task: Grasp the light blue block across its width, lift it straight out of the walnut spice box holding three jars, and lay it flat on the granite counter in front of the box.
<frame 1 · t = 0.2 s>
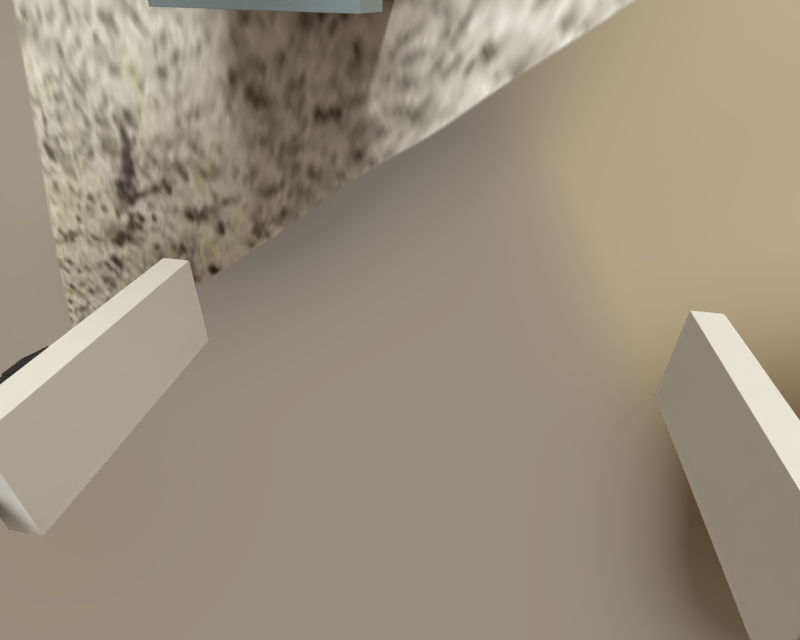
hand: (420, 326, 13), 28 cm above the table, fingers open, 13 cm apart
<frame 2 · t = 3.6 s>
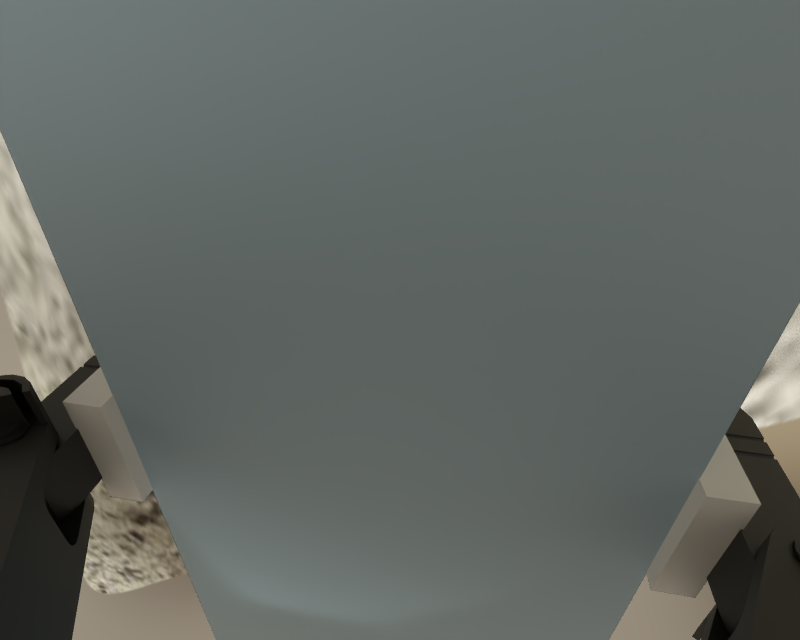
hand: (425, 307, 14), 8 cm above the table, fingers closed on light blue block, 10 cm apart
light blue block: (419, 330, 13), point 9 cm above the table, touching box, gripper
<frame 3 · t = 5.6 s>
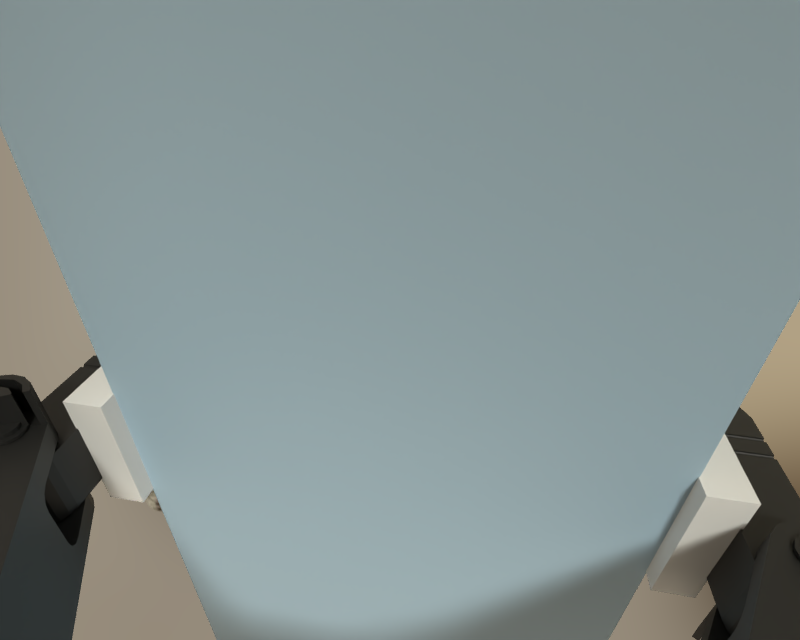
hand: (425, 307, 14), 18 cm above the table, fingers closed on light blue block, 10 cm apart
light blue block: (419, 330, 13), point 19 cm above the table, touching gripper
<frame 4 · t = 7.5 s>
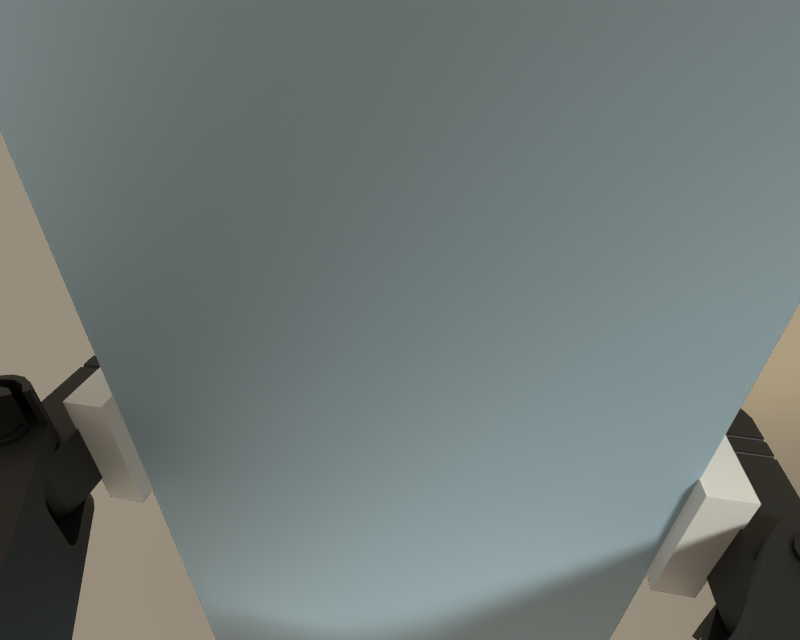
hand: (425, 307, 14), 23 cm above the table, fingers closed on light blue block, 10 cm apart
light blue block: (419, 331, 13), point 24 cm above the table, touching gripper
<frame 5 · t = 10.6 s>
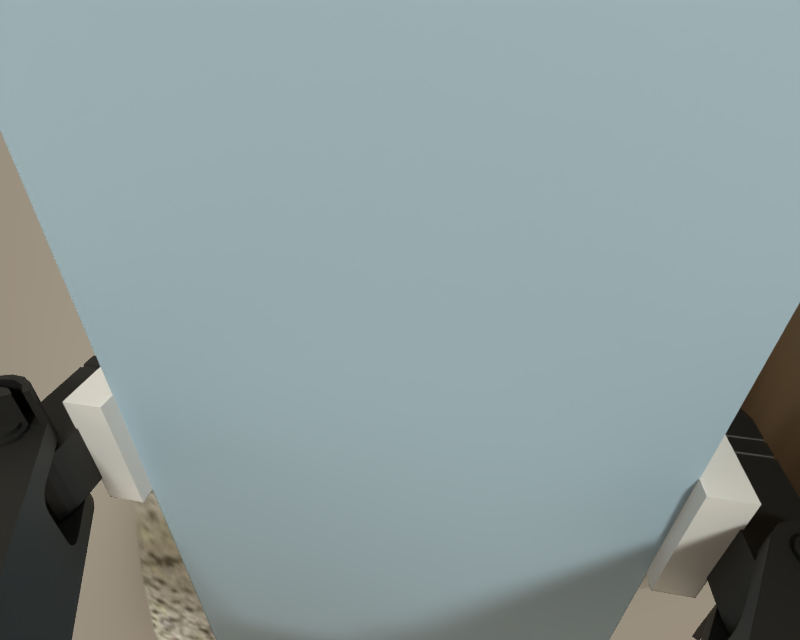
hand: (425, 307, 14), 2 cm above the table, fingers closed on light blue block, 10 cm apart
light blue block: (419, 332, 13), point 4 cm above the table, touching gripper
when the fingers open (2 cm above the table, at t = 11.7 s): light blue block drops 2 cm, point 1 cm above the table.
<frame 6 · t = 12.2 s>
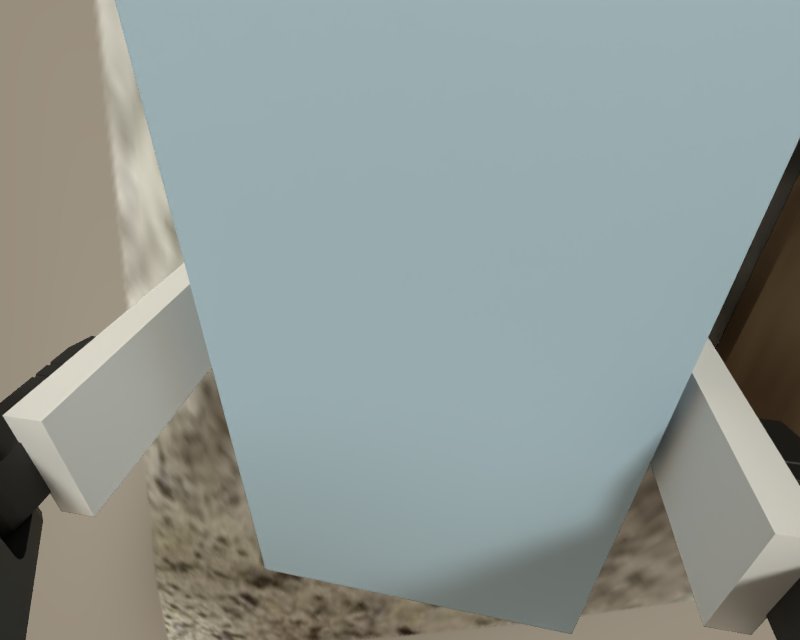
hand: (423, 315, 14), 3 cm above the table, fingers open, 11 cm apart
light blue block: (446, 295, 15), point 1 cm above the table
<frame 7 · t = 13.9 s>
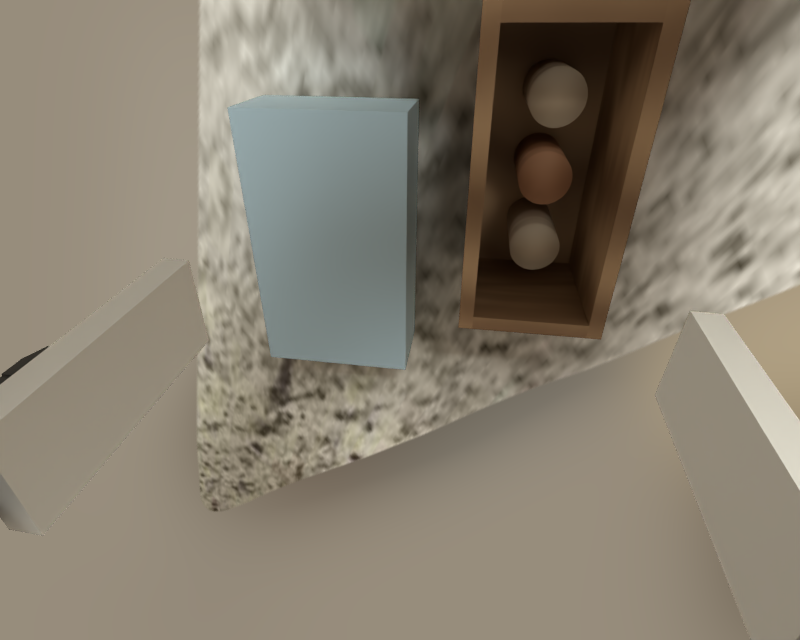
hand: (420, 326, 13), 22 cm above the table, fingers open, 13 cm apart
box: (536, 152, 31), on the table
light blue block: (347, 226, 35), point 1 cm above the table
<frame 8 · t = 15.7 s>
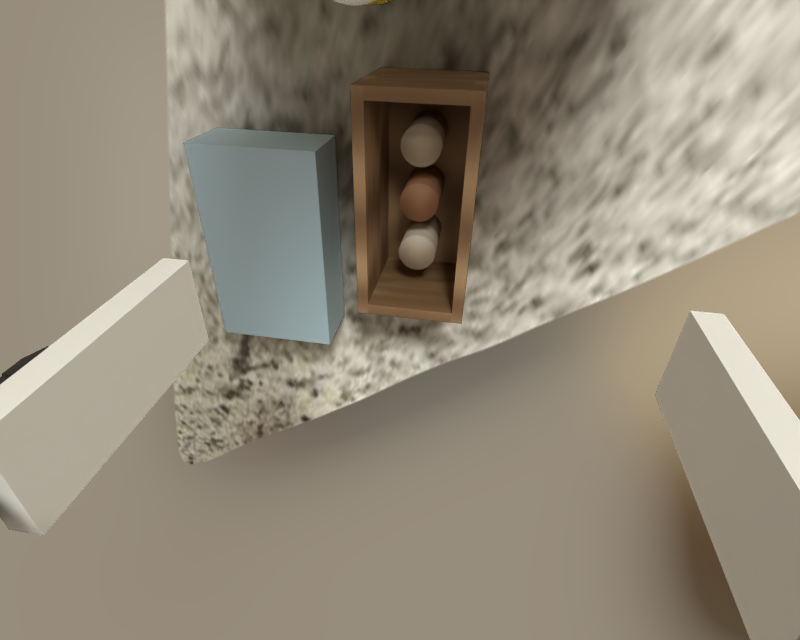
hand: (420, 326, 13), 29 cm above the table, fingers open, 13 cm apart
box: (428, 177, 40), on the table
light blue block: (286, 230, 44), point 1 cm above the table
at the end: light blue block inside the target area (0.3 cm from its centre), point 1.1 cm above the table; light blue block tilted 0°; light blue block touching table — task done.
